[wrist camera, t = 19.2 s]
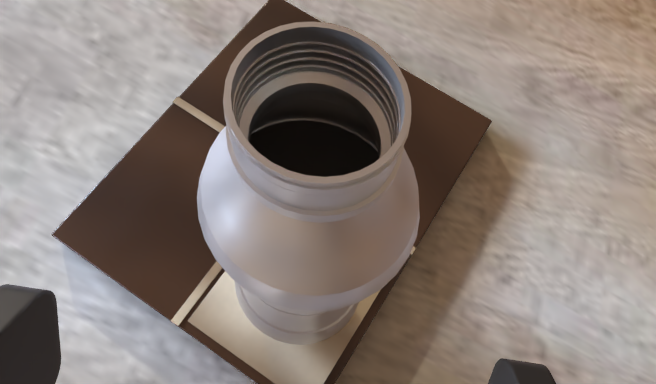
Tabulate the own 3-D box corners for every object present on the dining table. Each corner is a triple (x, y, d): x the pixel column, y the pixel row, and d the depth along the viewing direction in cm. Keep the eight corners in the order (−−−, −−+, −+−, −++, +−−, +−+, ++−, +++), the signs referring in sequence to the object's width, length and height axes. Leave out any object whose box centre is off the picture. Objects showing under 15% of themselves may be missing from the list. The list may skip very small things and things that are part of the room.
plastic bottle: (294, 210, 30) (303, -83, 11) (379, 287, 28) (552, 100, 10) (214, 289, 28) (62, 90, 9) (302, 375, 26) (336, 353, 8)
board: (310, 420, 27) (311, 422, 25) (59, 240, 29) (49, 233, 28) (485, 128, 34) (493, 119, 33) (274, 5, 37) (274, -8, 36)
